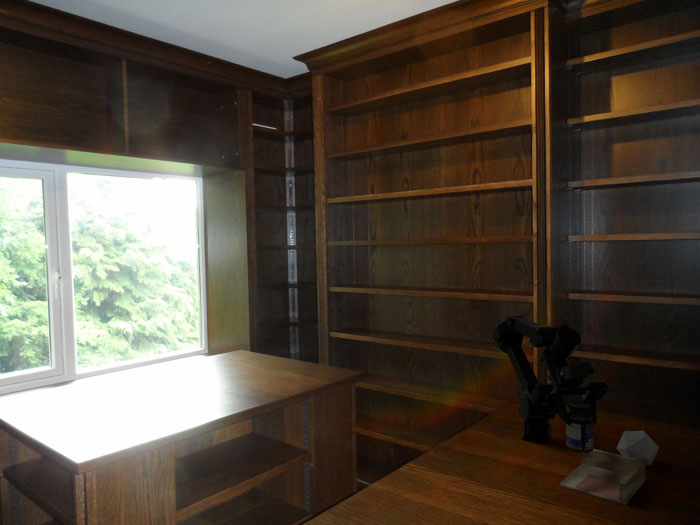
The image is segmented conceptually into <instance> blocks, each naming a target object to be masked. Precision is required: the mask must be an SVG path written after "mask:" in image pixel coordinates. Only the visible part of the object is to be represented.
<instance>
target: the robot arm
mask: <svg viewBox="0 0 700 525" xmlns="http://www.w3.org/2000/svg"><path fill="white" fill-rule="evenodd" d="M524 337H527V338H529V344H531V345H532V346H533V347H534V348H535V349H543V351H542V352H541V356H540V357H539V361H540V362H541V363H544V364H545V367H546V369H547V372H548V376H547V378H548V381H549V382H548V383H540V382H539V379H538V378H537V376H536V374H535V372H534V369H533V367H532V365H531V364H530V362H529V360H528V357H527V355H526V353H525V351H524V349H523V346H522V345H523V340H524ZM492 338H493V342H495V344H496V346H497V347H498V349H499V350H501V352H503V353H505V354H506V355H507V356H508V357H507V358H508V359H509V362H510V363H511V366H512V368H513V370H514V372H515V374H516V376H517V379H518V381H519V383H520V385H521V387H522V389H523V394H522V399H521V400H522V401H521V404H520V405H519V407H518V415H519V417H521V418H522V419H523V432H524V433H523V435H522V437H521V440H525V441H529V442H532V443H536V444H542V445H545V444H546V443H547V442H549V441H550V440H552V439H553V436H552V424H551V422H550V420H555V418H556V415H557V416H558V417H559V418H560V419H561V420H562V421H563V422H564V423H565V425H566V424H567V425H571V420H570V417H569V415H568V412H569V411H568V410H567V408H566V406H565V404H564V400H563V397H564V396H565V397H567V396H581V397H582V399H583V400H582V401H581V402H584V403H588V404H589V405H590V411H589V414H591V415H592V416H593V425H596V424H597V422H598V420H597V418H598V417H597V401H600V400H603V398H604V397H605V396H606V395H607V394H608V393H609V392H610V390H611V388H610V386H609V384H608V383H607V381H605V380H590V381H589V383H588V384H587V385H586V386H580V385H582V384H583V383H584V379H589V378H590V376H592V375H594V374H595V371H594V369H595V368H594V367H593V364H592V363H591V362H590V361H584V362H581V363H580V364H571V363H570V362H569V359H568V358H570V357H571V356H572V355H573V354H574V352H575V351H576V349H577V348H578V346H579V345H580V344H581V342H582V338H581V335H580V333H578V332H577V331H576V330H575V329H573V328H570V327H569V326H568V324H559V325H558V327H557V326H556V325H555V326H554V325H541V324H539V323H537V322H535V321H533V320H530V319H528V318H526V317H525V316H523V315H509V316H508V317H507V318H506V319H505V320H504V321H503V322H501V323H500V324H498V325H496V328H495V330H494V331H493V335H492ZM550 381H552V382H551V383H552V384H551V383H550Z"/></svg>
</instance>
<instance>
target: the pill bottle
mask: <svg viewBox="0 0 700 525" xmlns="http://www.w3.org/2000/svg"><path fill="white" fill-rule="evenodd" d="M568 405H569V406H568V408H569V411H567V412H568V415H569V417H570V420H571V425H567V424H566V423H565V426H566V427H565V429H566V430H565V435H566V436H565V444H566V448H567V449H568V450H570V451H572V452H574V453H578V454H579V453H580V454H582V453H588V452H591V451H593V449H594V424H593V416H592V415H591V414H589V411H590V405H589V404H588V403H584V402H582V401H577V400H576V401H570V402H569V404H568Z"/></svg>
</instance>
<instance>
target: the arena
mask: <svg viewBox="0 0 700 525" xmlns="http://www.w3.org/2000/svg"><path fill="white" fill-rule="evenodd" d="M646 471H647V465H646V461H644V460H639V459H635V458H631V457H627V456H622V455H621V454H617V453H614V452H609V451H604V450H600V449H595V448H593V451H591V452H588V453H581V464H580V465H579V466H578V467H576V468H575V469H574V470H572V472H570V473H569V474H568V475H567V476H566V477H565V478H564V479H563V480H561V481H560V482H559V483H558V485H559V487H564V488H567V489H569V490H570V489H571V490H575V491H577V492H580V493H584V494H587V495H590V496H594V497H598V498H601V499H604V500H608V501H610V502H614V503H615V502H616V503H618V504H621V505H627V504H628V503H629V502H630V500H631V499H632V497H633V496H634V495H635V494H636V493H637V491H638V490H639V489H640V488H641V486H642V485H643V484H644V483H645V482H646V480H647V477H646V475H647V472H646Z"/></svg>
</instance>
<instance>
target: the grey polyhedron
mask: <svg viewBox="0 0 700 525" xmlns="http://www.w3.org/2000/svg"><path fill="white" fill-rule="evenodd" d="M659 449H660V447H659V446H658V445H657V444H656V442H655V441H654V440H653V439H652V438H651V437H650V436H649V434H647V433H646V432H645V430H626V431H623V433H622V435H621V437H620V439H619V442H618V444H617V446H616V450H617V452H619V453H620V454H619V455H622V456H627V457H631V458H635V459H639V460H644V461H646V466H652V464H653V462H654V460H655V458H656V455H657V453H658V451H659Z"/></svg>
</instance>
